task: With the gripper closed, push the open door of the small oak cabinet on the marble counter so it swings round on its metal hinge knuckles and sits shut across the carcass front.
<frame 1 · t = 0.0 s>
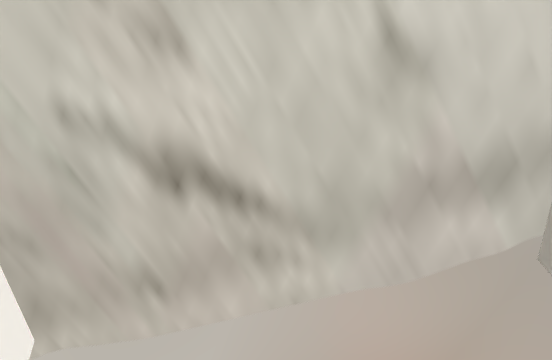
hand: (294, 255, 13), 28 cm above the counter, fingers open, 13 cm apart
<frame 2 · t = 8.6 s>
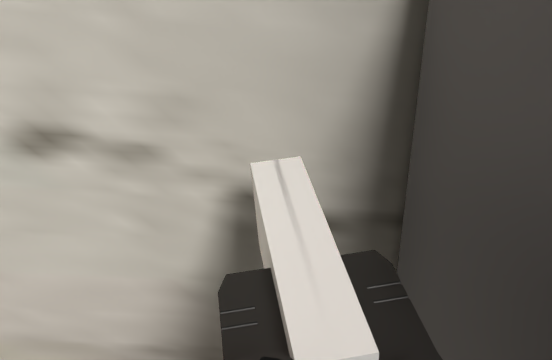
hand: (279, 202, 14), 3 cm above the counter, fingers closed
door: (483, 325, 12), point 6 cm above the counter, hinge at 25.7°, touching hand
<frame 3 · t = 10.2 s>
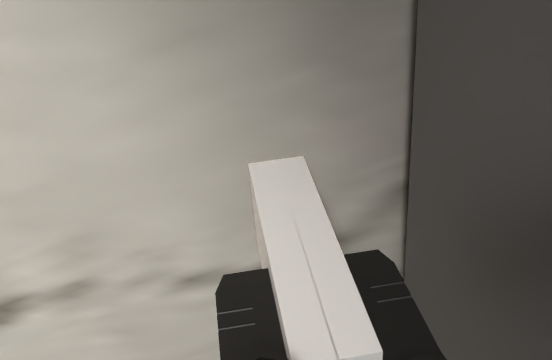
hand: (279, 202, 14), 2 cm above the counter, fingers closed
door: (492, 319, 12), point 6 cm above the counter, hinge at 1.7°
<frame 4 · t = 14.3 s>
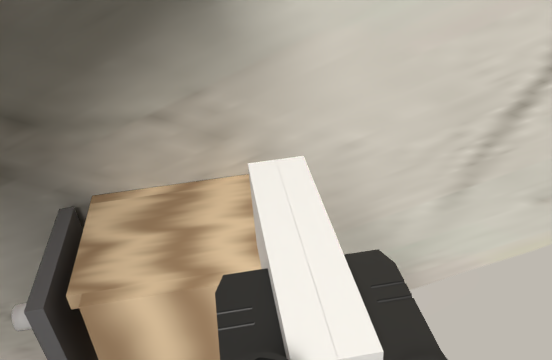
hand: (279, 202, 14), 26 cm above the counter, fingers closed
door: (75, 331, 42), point 6 cm above the counter, hinge at 1.7°
carcass: (191, 256, 48), on the counter
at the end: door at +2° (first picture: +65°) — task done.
